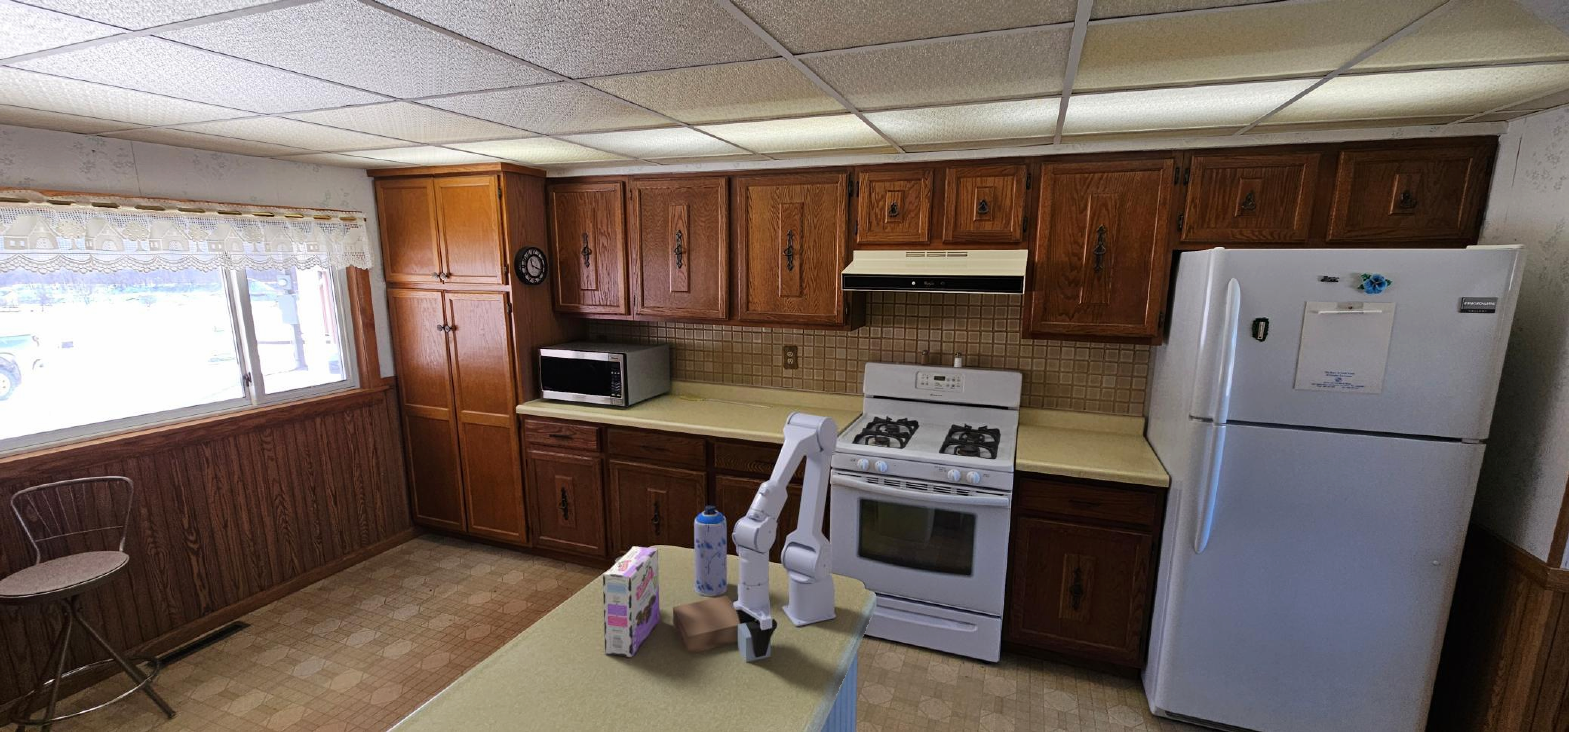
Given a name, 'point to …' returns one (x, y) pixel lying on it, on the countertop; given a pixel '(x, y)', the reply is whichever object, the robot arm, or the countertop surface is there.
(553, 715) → the countertop surface
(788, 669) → the countertop surface
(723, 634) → the walnut slab
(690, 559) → the countertop surface
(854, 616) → the countertop surface
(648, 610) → the candy box
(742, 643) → the slate cube
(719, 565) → the aerosol can
